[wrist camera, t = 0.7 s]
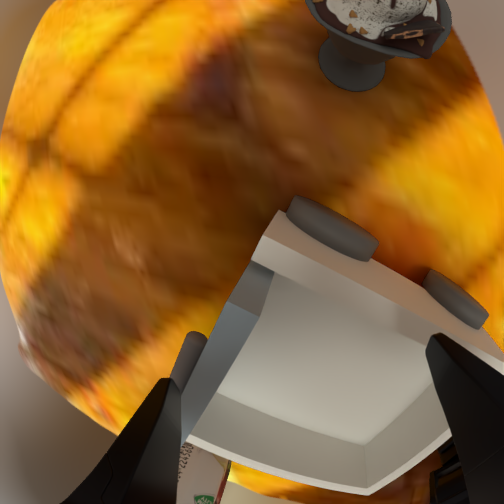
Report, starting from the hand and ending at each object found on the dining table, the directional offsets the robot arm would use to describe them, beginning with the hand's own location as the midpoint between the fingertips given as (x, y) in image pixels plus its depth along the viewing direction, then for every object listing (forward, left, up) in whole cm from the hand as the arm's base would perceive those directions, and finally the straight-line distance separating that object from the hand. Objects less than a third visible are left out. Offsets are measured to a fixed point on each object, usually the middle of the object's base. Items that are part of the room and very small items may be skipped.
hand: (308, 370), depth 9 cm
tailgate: (+3, +6, -9) cm, 11 cm away
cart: (-6, +6, -14) cm, 16 cm away
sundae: (+3, -14, -14) cm, 20 cm away
